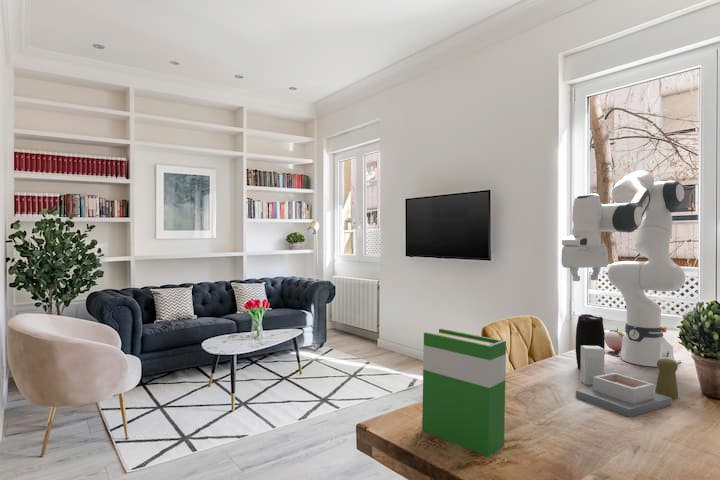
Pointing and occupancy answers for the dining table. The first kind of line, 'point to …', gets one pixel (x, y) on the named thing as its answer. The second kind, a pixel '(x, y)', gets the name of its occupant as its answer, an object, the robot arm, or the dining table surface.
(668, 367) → the cork
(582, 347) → the skincare box
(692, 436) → the dining table surface
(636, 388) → the switch box
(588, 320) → the portable speaker
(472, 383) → the hardback book
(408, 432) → the dining table surface
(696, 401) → the dining table surface
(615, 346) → the decorative fruit
